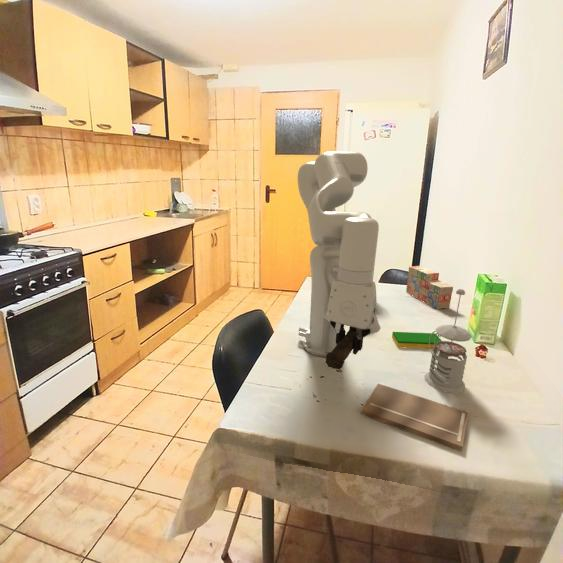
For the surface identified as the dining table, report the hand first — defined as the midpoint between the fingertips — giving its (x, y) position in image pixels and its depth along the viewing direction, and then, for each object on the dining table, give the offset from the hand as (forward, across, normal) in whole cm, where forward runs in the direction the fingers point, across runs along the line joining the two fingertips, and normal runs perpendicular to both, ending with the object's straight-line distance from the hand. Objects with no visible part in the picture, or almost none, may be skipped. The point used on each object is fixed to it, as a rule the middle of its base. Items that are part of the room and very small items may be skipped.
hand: (348, 348), depth 83 cm
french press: (+12, +20, +18) cm, 29 cm away
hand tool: (+1, -1, 0) cm, 1 cm away
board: (+11, +17, -1) cm, 20 cm away
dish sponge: (+13, +10, +36) cm, 40 cm away
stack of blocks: (+13, +5, +80) cm, 82 cm away
